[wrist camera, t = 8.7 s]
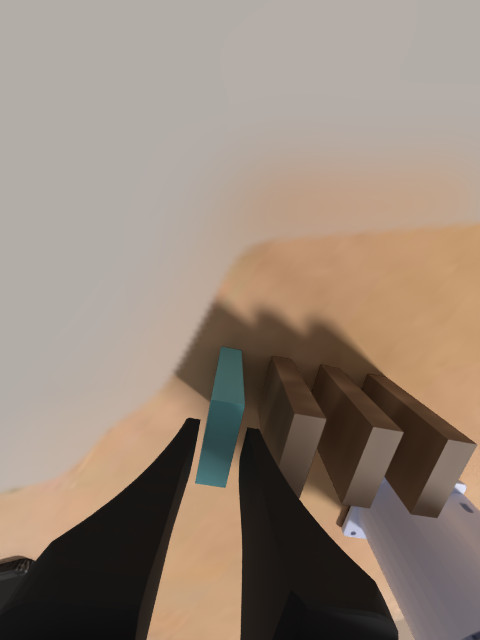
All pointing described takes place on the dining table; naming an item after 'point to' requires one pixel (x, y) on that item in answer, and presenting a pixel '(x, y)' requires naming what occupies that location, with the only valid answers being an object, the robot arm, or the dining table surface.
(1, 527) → the dining table surface
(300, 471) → the domino
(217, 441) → the domino teal placed
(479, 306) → the dining table surface
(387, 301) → the dining table surface
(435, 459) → the domino
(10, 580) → the phone
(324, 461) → the domino
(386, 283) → the dining table surface
